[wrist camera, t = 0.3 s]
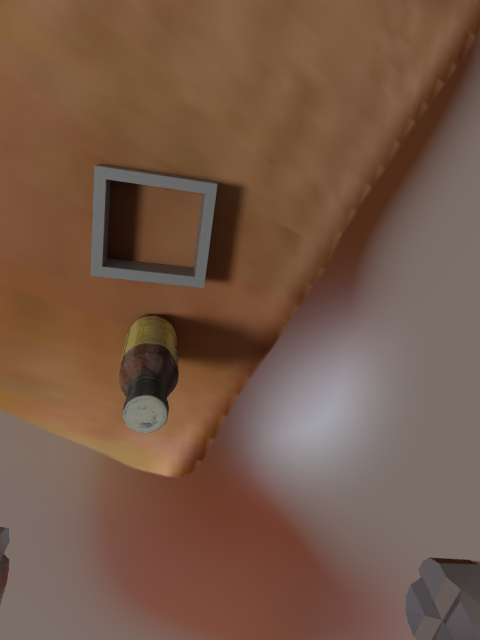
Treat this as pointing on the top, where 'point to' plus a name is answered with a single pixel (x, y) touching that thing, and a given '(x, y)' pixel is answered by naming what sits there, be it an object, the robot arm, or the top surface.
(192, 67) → the top surface
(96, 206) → the bottle collar
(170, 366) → the sauce bottle
